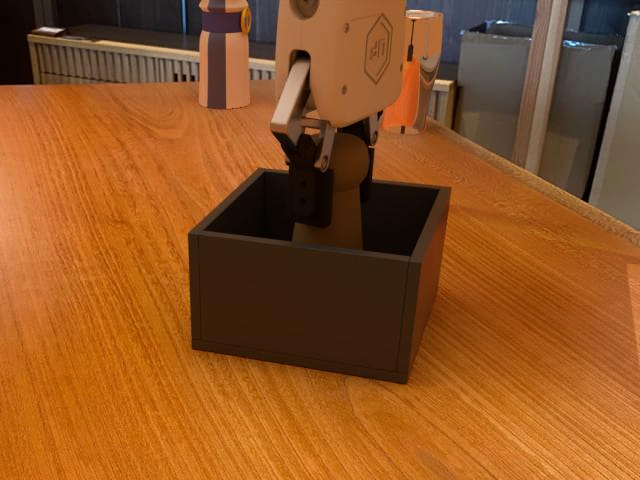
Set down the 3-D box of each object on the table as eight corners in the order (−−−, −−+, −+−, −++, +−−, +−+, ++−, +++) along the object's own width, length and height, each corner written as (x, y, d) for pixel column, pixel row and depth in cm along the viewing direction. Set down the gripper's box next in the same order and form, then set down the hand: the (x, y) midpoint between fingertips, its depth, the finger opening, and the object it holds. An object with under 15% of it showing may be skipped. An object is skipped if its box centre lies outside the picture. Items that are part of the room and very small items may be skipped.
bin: (437, 291, 69) (452, 186, 64) (406, 384, 56) (421, 262, 52) (257, 267, 73) (258, 167, 69) (191, 348, 61) (187, 232, 56)
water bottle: (260, 98, 128) (262, -92, 115) (243, 111, 121) (244, -90, 108) (209, 94, 130) (206, -93, 117) (190, 106, 123) (184, -90, 110)
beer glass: (437, 138, 109) (453, 12, 101) (418, 151, 104) (433, 19, 96) (387, 131, 112) (398, 8, 104) (366, 143, 107) (376, 15, 99)
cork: (277, 295, 61) (281, 144, 56) (292, 264, 66) (297, 122, 61) (360, 304, 60) (372, 150, 54) (369, 271, 65) (381, 127, 59)
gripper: (333, -71, 43) (317, 261, 53) (458, -84, 55) (426, 188, 65) (213, -75, 46) (218, 237, 56) (355, -86, 58) (339, 172, 68)
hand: (329, 208), depth 60 cm, fingers closed on cork, 5 cm apart
